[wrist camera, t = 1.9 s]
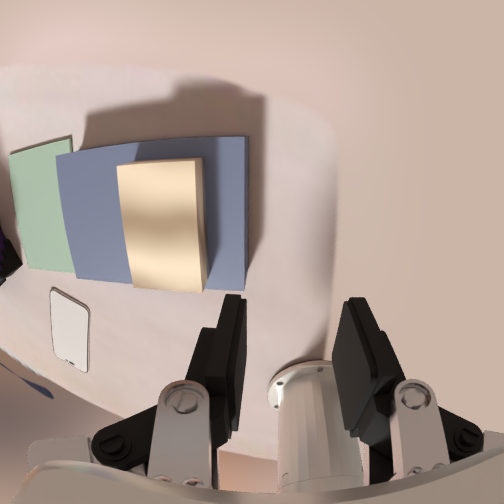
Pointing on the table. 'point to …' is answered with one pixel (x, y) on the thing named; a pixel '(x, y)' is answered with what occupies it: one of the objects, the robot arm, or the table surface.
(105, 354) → the table surface
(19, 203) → the mat
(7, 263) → the energy cube
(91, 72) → the table surface
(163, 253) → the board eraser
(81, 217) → the textbook
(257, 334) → the table surface
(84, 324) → the smartphone
